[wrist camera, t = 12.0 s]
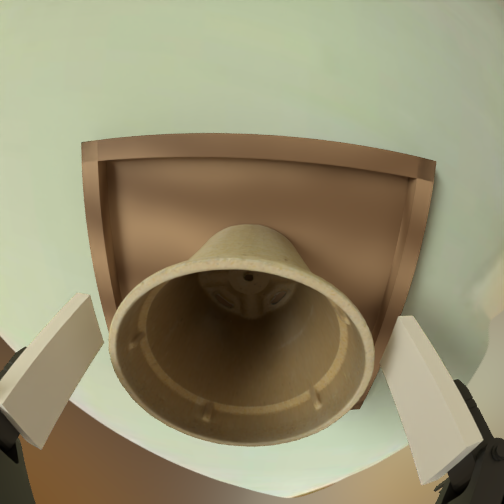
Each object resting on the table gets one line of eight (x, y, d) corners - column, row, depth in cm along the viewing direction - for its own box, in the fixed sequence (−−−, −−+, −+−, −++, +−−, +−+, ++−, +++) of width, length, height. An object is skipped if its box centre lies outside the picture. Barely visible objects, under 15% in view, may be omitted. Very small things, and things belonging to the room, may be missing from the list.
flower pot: (354, 224, 15) (427, 308, 7) (296, 348, 19) (306, 457, 11) (192, 173, 15) (113, 215, 7) (164, 312, 18) (113, 411, 10)
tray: (94, 140, 14) (81, 142, 13) (423, 158, 14) (436, 161, 13) (134, 380, 22) (128, 391, 21) (356, 396, 22) (359, 409, 20)
